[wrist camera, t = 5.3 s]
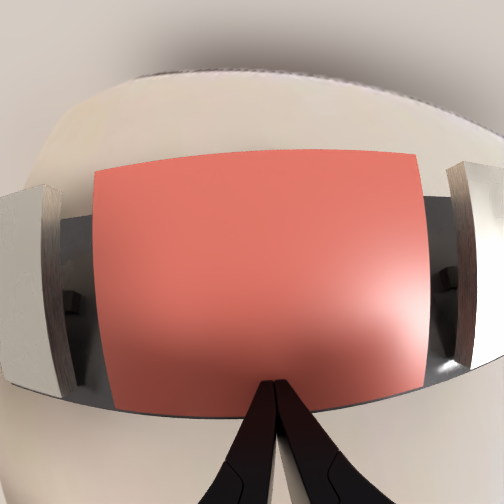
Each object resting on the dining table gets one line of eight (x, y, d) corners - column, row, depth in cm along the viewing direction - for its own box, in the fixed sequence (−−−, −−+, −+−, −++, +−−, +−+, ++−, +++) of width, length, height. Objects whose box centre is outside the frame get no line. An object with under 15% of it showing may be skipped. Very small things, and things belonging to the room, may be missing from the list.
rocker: (407, 374, 10) (422, 386, 9) (128, 394, 10) (115, 408, 9) (399, 165, 10) (415, 154, 9) (111, 181, 10) (94, 171, 9)
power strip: (507, 340, 15) (596, 310, 6) (63, 385, 15) (-48, 376, 6) (483, 231, 19) (551, 167, 9) (72, 255, 19) (-14, 184, 9)
